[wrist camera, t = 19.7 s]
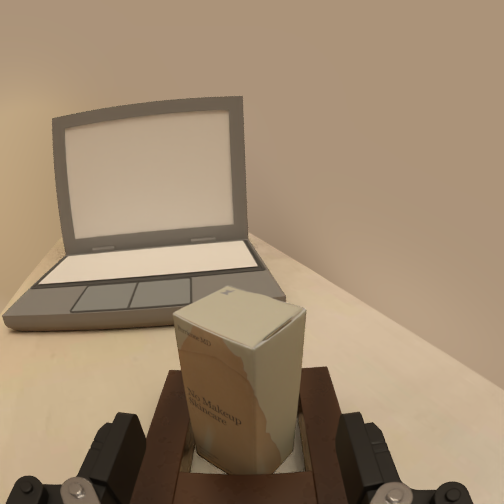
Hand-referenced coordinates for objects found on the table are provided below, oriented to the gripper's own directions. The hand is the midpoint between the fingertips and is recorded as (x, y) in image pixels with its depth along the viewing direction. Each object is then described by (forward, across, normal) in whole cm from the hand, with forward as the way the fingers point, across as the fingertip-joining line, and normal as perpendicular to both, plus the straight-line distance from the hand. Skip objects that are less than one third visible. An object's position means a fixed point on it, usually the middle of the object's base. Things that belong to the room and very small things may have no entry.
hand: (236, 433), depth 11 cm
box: (+5, 0, +8) cm, 10 cm away
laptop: (+34, +16, +8) cm, 38 cm away
